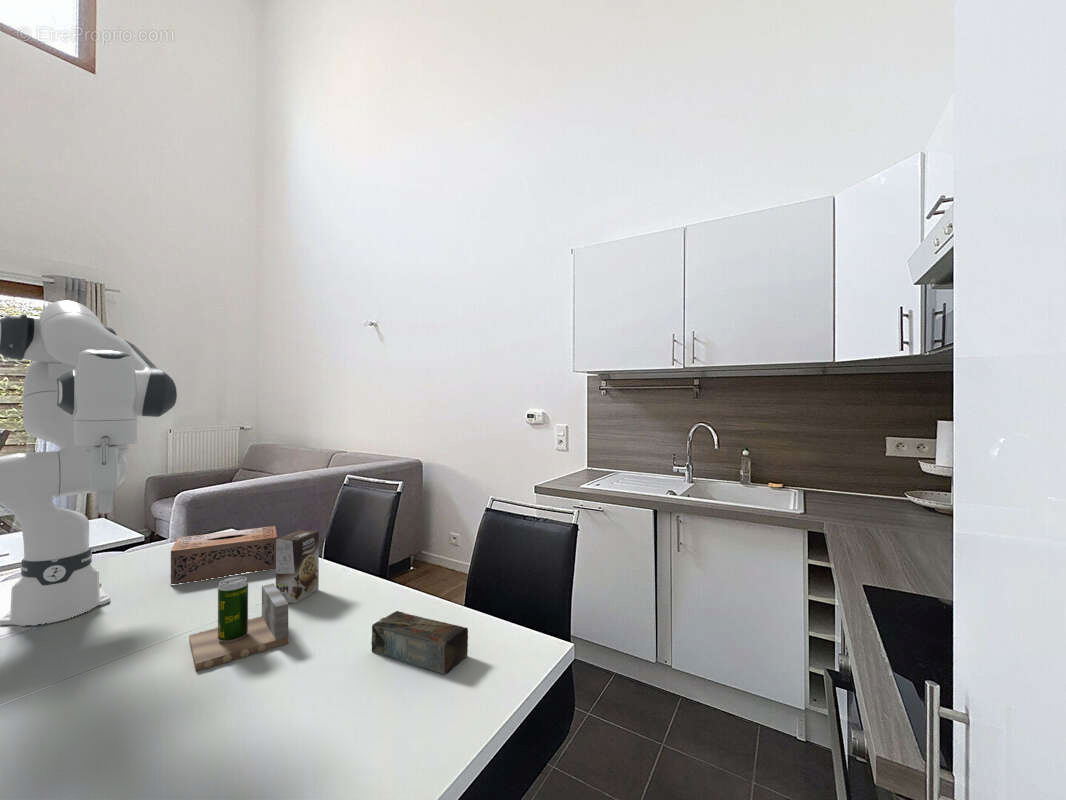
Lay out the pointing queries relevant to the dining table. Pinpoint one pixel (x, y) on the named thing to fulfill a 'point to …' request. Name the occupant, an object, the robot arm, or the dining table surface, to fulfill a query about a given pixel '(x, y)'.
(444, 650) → the beverage carton
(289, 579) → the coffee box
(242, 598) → the green soda can
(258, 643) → the roller pallet
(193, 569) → the tissue box cover
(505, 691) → the dining table surface
